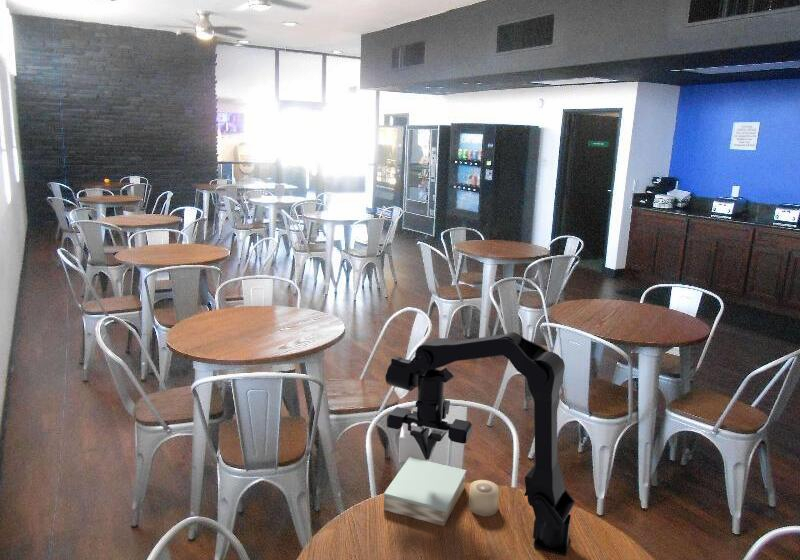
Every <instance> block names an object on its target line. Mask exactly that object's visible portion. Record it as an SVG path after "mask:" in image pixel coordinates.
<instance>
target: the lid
mask: <svg viewBox="0 0 800 560" xmlns="http://www.w3.org/2000/svg"><path fill="white" fill-rule="evenodd" d="M466 474H467V469H463V468H458V467H454V466H449V465H445V464H440V463H437V462H432V461H429V460H427V461H424V460H420V459H416V458H411V457H409V458H408V460H407V461H406V463H403V466H401V468H400V469H399V471H398V473H397V474H396V475H395V477H394V478H393V480H392V481H391V482H390V484H389V486H388V487H387V488H386V489H385V491H384V493H383V498H384V497H388V498H392V499H396V500H400V501H404V502H407V503H411V504H415V505H419V506H423V507H426V508H430V509H434V510H438V511H442V512H447V510H448V508H449V506H450V504H451V502H452V500H453V498H454V496H455V494H456V492H457V490H458V488H459V486H460V484H461V482H462V480H463V478H464V477H465V478H466Z"/></svg>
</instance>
